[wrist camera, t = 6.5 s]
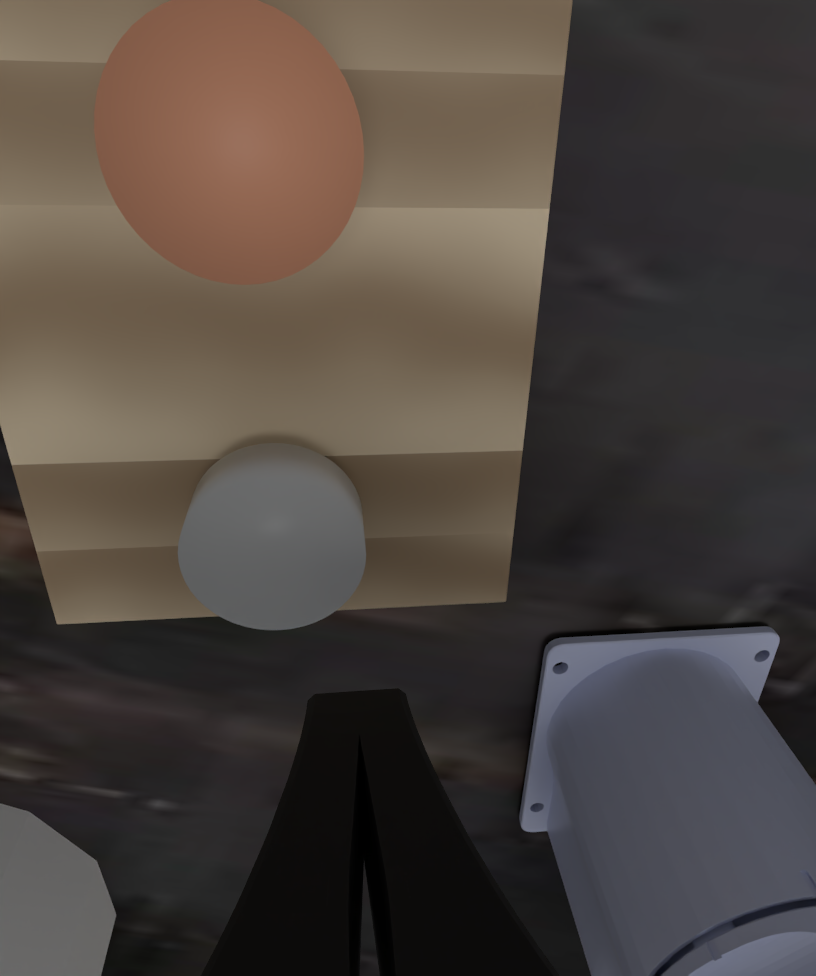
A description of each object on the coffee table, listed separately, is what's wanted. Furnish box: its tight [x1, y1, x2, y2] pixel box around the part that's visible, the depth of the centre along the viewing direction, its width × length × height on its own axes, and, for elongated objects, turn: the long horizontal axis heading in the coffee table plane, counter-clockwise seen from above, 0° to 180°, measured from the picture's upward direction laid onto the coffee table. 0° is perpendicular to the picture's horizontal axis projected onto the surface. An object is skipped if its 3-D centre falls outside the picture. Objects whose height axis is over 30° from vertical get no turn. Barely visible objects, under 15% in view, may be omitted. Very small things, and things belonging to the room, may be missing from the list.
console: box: [0, 0, 573, 624], centre depth 16 cm, size 15×12×2 cm
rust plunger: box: [94, 0, 364, 285], centre depth 12 cm, size 4×4×4 cm
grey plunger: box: [178, 443, 366, 630], centre depth 17 cm, size 4×4×4 cm
